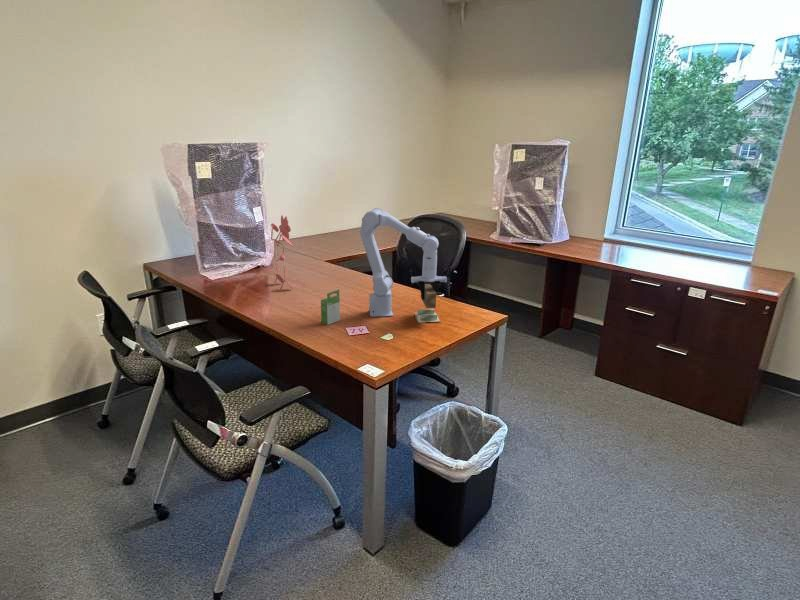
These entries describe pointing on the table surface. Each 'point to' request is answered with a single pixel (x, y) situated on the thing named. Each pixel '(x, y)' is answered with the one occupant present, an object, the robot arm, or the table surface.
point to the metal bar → (429, 297)
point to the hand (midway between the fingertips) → (428, 298)
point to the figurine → (285, 237)
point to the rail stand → (426, 316)
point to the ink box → (330, 308)
